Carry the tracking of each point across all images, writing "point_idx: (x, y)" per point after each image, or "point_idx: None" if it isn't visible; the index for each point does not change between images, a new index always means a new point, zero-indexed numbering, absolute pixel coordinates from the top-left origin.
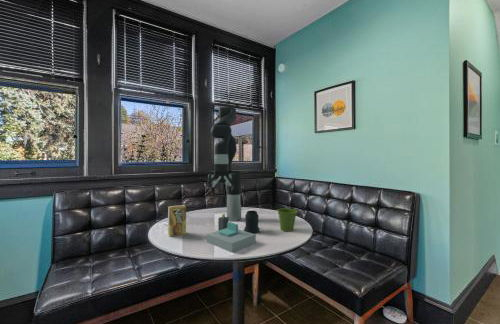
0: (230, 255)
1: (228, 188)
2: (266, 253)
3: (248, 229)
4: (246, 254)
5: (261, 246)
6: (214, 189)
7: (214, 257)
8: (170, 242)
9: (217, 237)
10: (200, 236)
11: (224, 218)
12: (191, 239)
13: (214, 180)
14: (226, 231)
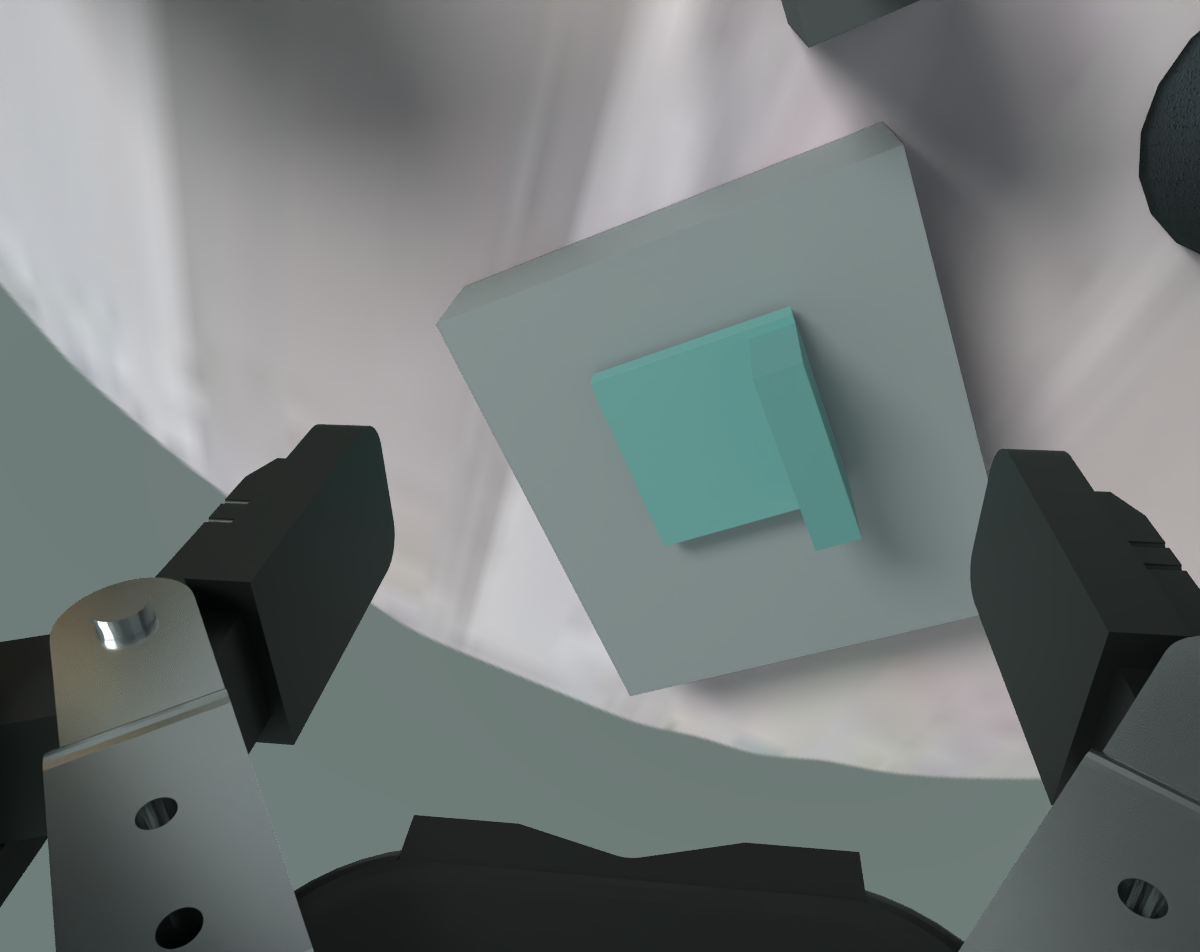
0: (604, 674)
1: (1035, 675)
2: (906, 766)
3: (1194, 212)
4: (739, 714)
5: (975, 646)
6: (322, 675)
7: (466, 650)
8: (12, 90)
9: (539, 499)
10: (412, 10)
11: (858, 7)
12: (278, 92)
13: (99, 891)
14: (691, 440)
